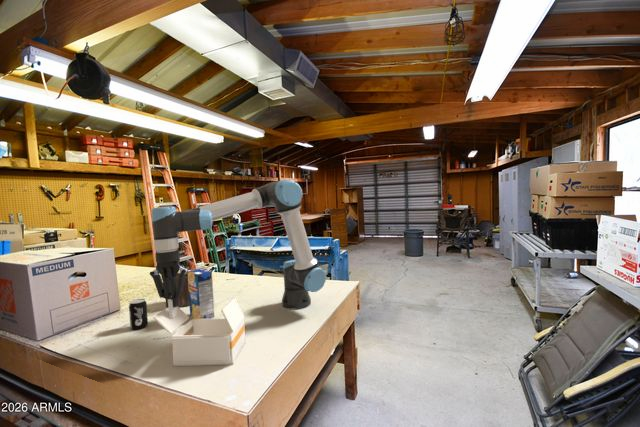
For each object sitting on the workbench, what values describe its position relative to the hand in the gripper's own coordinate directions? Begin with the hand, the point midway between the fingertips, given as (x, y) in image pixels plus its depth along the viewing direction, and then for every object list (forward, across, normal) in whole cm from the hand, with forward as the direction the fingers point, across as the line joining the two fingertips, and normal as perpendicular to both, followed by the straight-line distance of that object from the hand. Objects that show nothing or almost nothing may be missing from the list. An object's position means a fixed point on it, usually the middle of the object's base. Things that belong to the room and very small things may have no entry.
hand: (173, 316), depth 100 cm
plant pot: (+14, +23, -54) cm, 60 cm away
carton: (+15, -13, 0) cm, 19 cm away
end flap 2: (+5, -23, 0) cm, 24 cm away
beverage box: (+14, +6, -34) cm, 37 cm away
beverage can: (+14, +30, -24) cm, 41 cm away
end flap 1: (+4, -3, 0) cm, 5 cm away
